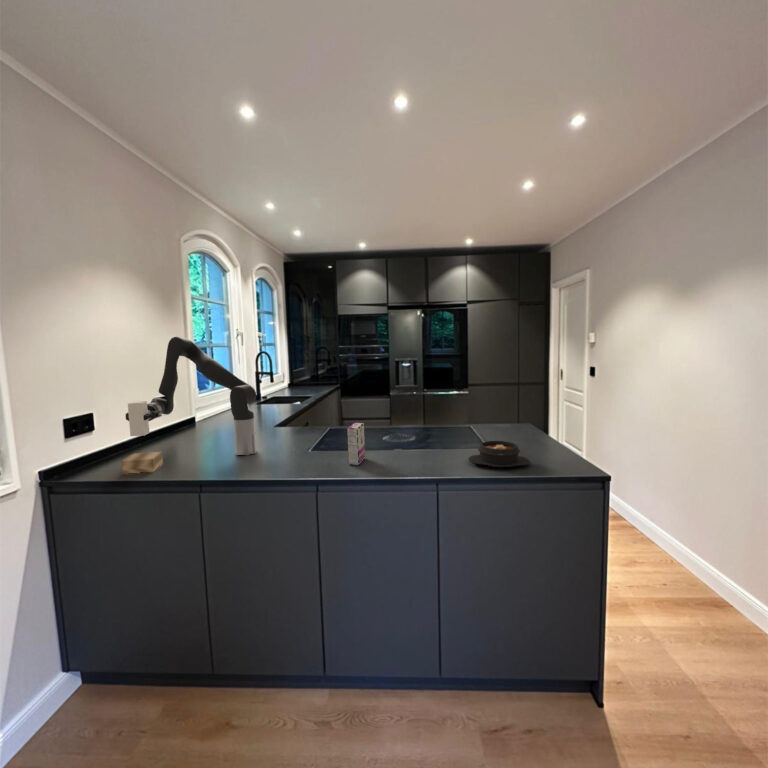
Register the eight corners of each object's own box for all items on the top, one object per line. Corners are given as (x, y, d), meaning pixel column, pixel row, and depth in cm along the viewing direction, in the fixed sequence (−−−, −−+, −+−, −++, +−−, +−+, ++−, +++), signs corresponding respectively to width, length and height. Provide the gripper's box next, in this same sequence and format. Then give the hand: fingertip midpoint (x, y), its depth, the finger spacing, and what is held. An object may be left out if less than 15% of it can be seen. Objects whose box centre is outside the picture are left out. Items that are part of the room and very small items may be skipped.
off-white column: (149, 432, 176) (146, 401, 174) (144, 435, 170) (142, 402, 169) (135, 433, 174) (132, 401, 173) (130, 436, 169) (127, 403, 168)
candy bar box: (355, 458, 183) (353, 422, 181) (365, 458, 182) (364, 422, 180) (347, 465, 172) (346, 428, 170) (359, 466, 171) (358, 428, 169)
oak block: (163, 464, 181) (162, 451, 181) (154, 472, 170) (152, 458, 169) (133, 466, 179) (132, 453, 178) (122, 475, 167) (121, 461, 166)
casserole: (469, 470, 162) (469, 450, 161) (467, 457, 180) (467, 439, 179) (534, 472, 158) (534, 451, 157) (525, 458, 176) (525, 440, 175)
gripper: (132, 404, 184) (116, 410, 167) (166, 402, 187) (154, 408, 170) (133, 420, 184) (118, 428, 168) (167, 418, 187) (155, 426, 171)
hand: (136, 418), depth 169 cm, fingers closed on off-white column, 5 cm apart
